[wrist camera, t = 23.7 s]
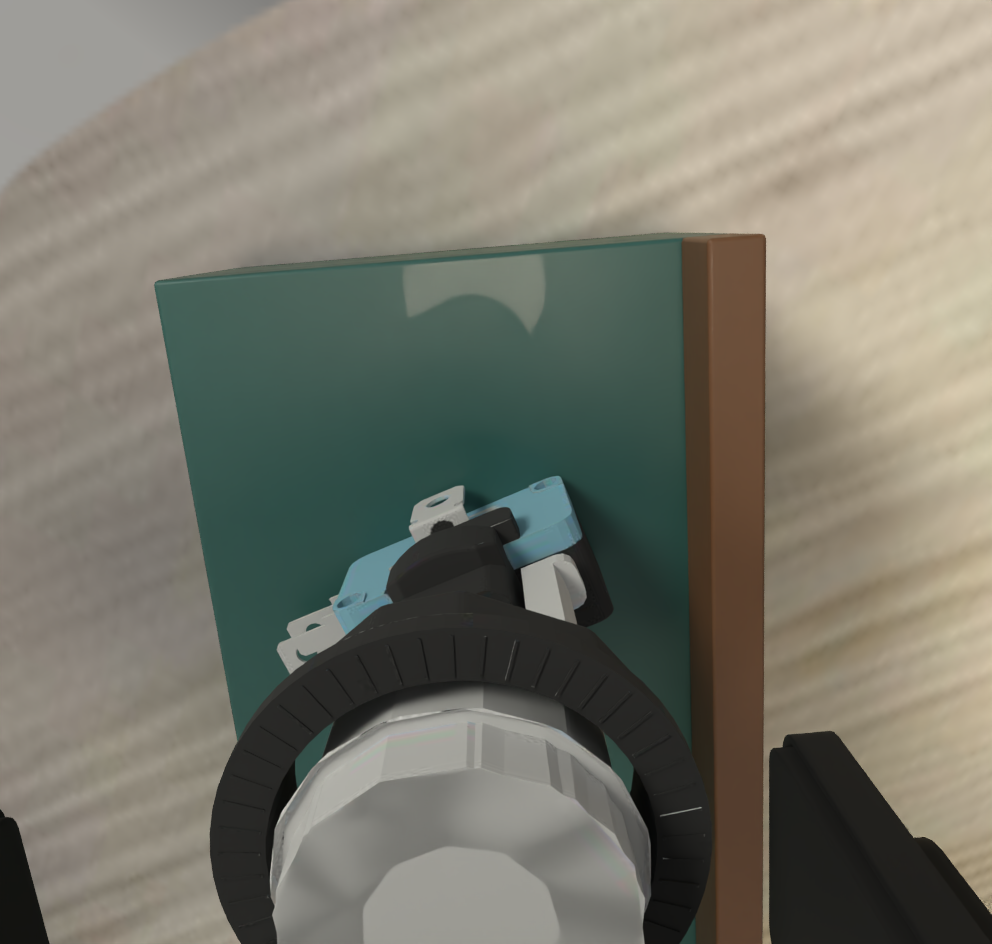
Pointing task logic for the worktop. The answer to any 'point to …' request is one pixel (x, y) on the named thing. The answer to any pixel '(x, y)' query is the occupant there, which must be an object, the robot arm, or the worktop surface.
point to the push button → (463, 755)
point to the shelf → (502, 462)
